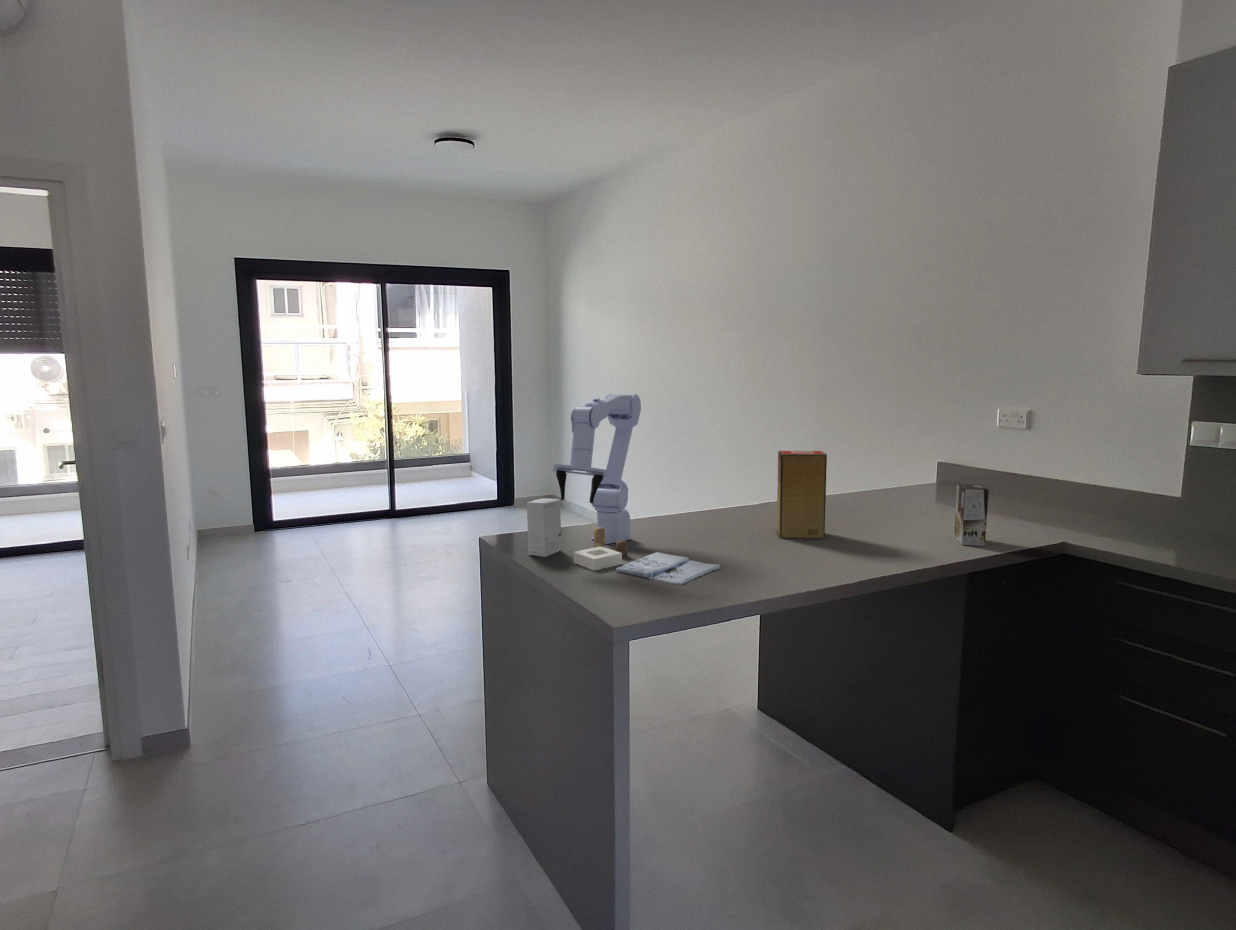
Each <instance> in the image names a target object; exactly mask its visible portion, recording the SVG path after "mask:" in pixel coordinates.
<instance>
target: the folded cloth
mask: <svg viewBox="0 0 1236 930" xmlns="http://www.w3.org/2000/svg"><path fill="white" fill-rule="evenodd" d="M677 566H679V567H677ZM675 567H677V571H676V572H674V571H670V572H671V573H666V572H668V571H669V570H673V568H674V569H675ZM717 569H718V570H721V564H718V563H717V564H715V563H714V564H713V563H705V562H701V561H696V560H692V559H691V560H690V559H689V557H687V556H679V555H674V554H669V553H664V552H658V551H656V552H653V553H651V554H650V553H649V554H648V555H646V556H644V557H641V558H639V559H636V560H633V561H631V562H628V563H627V564H625V565H622V566H621V565H620V566H618V567H617V568H615V570H616V571H618V573H623V574H627V575H633V576H636V575H637V576H638V577H641V576H642V578H645V577H646V578H647V579H649V580H650V581H651V580H654V579H655V581H661V582H664V583H669V584H674V585H678V586H679V585H680V586H683V585H685V584H687V583H689V582H691V581H693V580H696V579H697V577H698V578H700V577H703V576H704V574H705V575H707V574H708V573H709V574H710V573H711V572H712V571H713V570H715V571H718V570H717ZM665 571H666V572H665ZM713 572H714V571H713ZM706 573H707V574H706ZM637 576H636V577H637ZM699 576H700V577H699ZM695 578H696V579H695Z"/></svg>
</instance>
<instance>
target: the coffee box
mask: <svg viewBox="0 0 1236 930" xmlns="http://www.w3.org/2000/svg"><path fill="white" fill-rule="evenodd" d="M989 492H990V489H989V488H987V487H985V486H983V485H981V484H980V483H978V484H977V483H964V484H963V483H961V484H960V483H959V484H958V483H957V484H956V498H955V516H954V517H955V519H954V536H953V537H954V539H955V540H956V541H957V542H958V543H959V544H960V545H961V546H978V547H979V546H980V547H985V545H986V534H987V521H988V508H989Z"/></svg>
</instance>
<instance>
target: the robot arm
mask: <svg viewBox="0 0 1236 930" xmlns="http://www.w3.org/2000/svg"><path fill="white" fill-rule="evenodd" d="M641 409H642V403H641V398H640V397H639V395H638V394H637V393H636V394H612V393H609V394H606V395H605V397H604V399H603V400H602V399H600V398H595V397H594V398H593V399H592V401H591V402H587V403H585V405H583V406H575V408H573V409H572V411H571V414H570V422H571V433H572V441H571V442H572V443H571V451H570V460H569V464H561V463H560V464H559V463H553V464H552V469H551V471H552V473H553V472H555V476H556V479H557V483H558V486H559V491H560V501H565V495H566V481H567V474H576V475H584V476H585V475H586V476H592V478H591V487H590V488H591V489H590V496H589V502H588V503H590V505H591V507H592V508H594V511H595V512H596V527H604V528H605V545H608V544H614V543H616V541H618V540H625V541H628V540H632V539H633V537H632V536H631V516H630V513H629V511H628V509H626V507H627V504H628V498H629V494H628V493H629V487H628V485H627V483H626V482H625V481H623V479H622V478H623V474H624V469H625V468H624V467H625V464H626V459H627V456H628V451H629V447H630V442H631V441H630V440H631V438H632V432H633V428H635V427H636V426H637V425H638V422H639V419H640V415H641V411H642V410H641ZM606 418H607V420H608V422H609V424H610V425H611V426H613V427H614V428H615V430H614V433H613V440H612V443H611V448H610V452H609V457H608V459H607V460H608V461H607V465H606V468H605V469H604V468H596V467H592V463H593V454H594V453H593V451H594V443H595V433H596V432H595V431H596V429H598V427H599V425H600V422H601V421H603V420H605V419H606ZM590 539H591V540H593V541H594V536H592V537H590Z"/></svg>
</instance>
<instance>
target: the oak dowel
mask: <svg viewBox="0 0 1236 930" xmlns="http://www.w3.org/2000/svg"><path fill="white" fill-rule="evenodd" d="M593 537H594V540H593V548H595V547H600V546H602V547H605V548H606V544H605V528H604V527H597V526H595V527H594V528H593Z"/></svg>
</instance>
